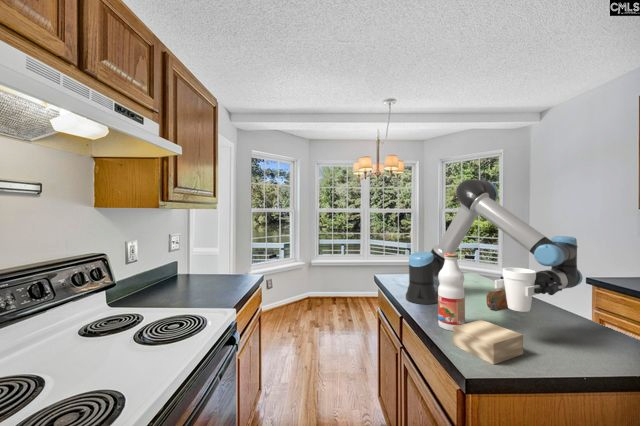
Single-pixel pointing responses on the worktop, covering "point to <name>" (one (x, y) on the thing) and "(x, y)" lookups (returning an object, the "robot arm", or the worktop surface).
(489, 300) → the tin
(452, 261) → the fruit juice
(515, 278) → the foam cup
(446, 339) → the worktop surface
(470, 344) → the maple block
